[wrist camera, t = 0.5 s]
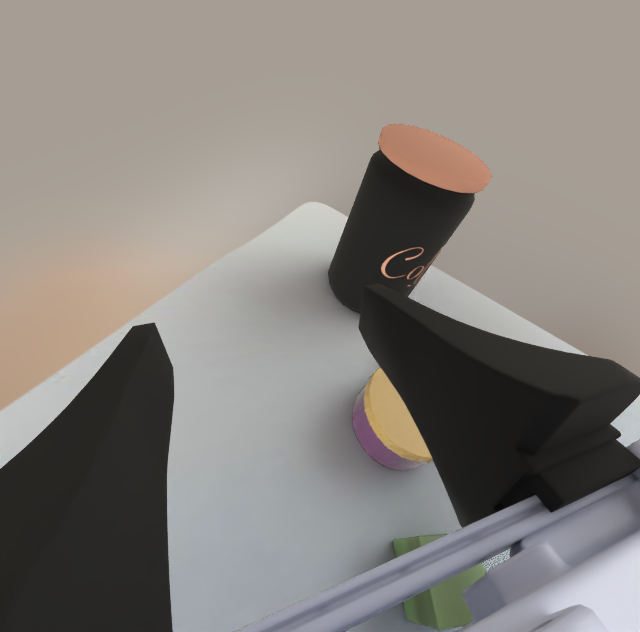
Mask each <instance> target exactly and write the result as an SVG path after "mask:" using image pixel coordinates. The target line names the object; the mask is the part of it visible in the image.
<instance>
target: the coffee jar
mask: <svg viewBox="0 0 640 632" xmlns="http://www.w3.org/2000/svg"><path fill="white" fill-rule="evenodd" d="M378 144H379V149H380V150H379V151H377V152H376V153H374V154H373V156H372V157H371V159H370V162H369V165H368V167H367V170H366V173H365V175H364V178H363V180H362V184H361V186H360V189H359V191H358V194H357V196H356V199H355V202H354V205H353V207H352V210H351V212H350V215H349V218H348V220H347V223H346V225H345V228H344V231H343V233H342V236H341V239H340V241H339V244H338V247H337V249H336V252H335V255H334V257H333V260H332V263H331V265H330V268H329V271H328V275H329V283H330V285H331V288H332V290H333V292H334V294H335V296H336V297H337V298H338V299H339V300H340V301H341V303H342V304H343V305H345V306H346V307H348V308H350V309H351V310H353V311H355V312H358V313H361V305H362V296H363V288H364V286H367V285H373V284H381V285H383V286H386V287H388V288H390V289H392V290H394V291H396V292H398V293H400V294H402V295H404V296H406V297H408V296H409V295H410V293H411V292H412V290H413V289H414V288H415V286H416V285H417V283H418V282H419V280H420V279H421V278H422V276H423V275H424V273H425V272H426V271H427V269H428V268H429V266H430V265H431V264H432V262H433V261H434V259H435V258H436V257H437V255H438V254H439V252H440V251H441V249H442V248H443V247H444V245H445V244H446V243H447V241H448V240H449V238H450V237H451V236H452V234H453V233H454V231H455V230H456V228H457V227H458V226H459V224H460V223H461V221H462V220H463V219H464V217H465V216H466V214H467V213H468V211H469V210H470V208H471V207H472V205H473V202H474V194H475V193H477V192H479V191H482V190H483V189H484V188H485V187H486V185H487V184H488V183H489V181H490V179H491V177H492V175H491V172H490V170H489V168H488V167H487V166H486V165H485V163H484V162H483V161H482V160H481V159H480V158H478V157H477V156H476V155H475V154H473V153H472V152H471V151H469V150H468V149H466V148H464V147H463V146H461V145H460V144H458V143H456V142H454V141H452V140H450V139H448V138H446V137H444V136H442V135H439V134H436V133H434V132H431V131H429V130H426V129H422V128H419V127H415V126H410V125H403V124H390V125H387V126H385V127H383V128H382V131H381V134H380V138H379V141H378Z"/></svg>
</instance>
